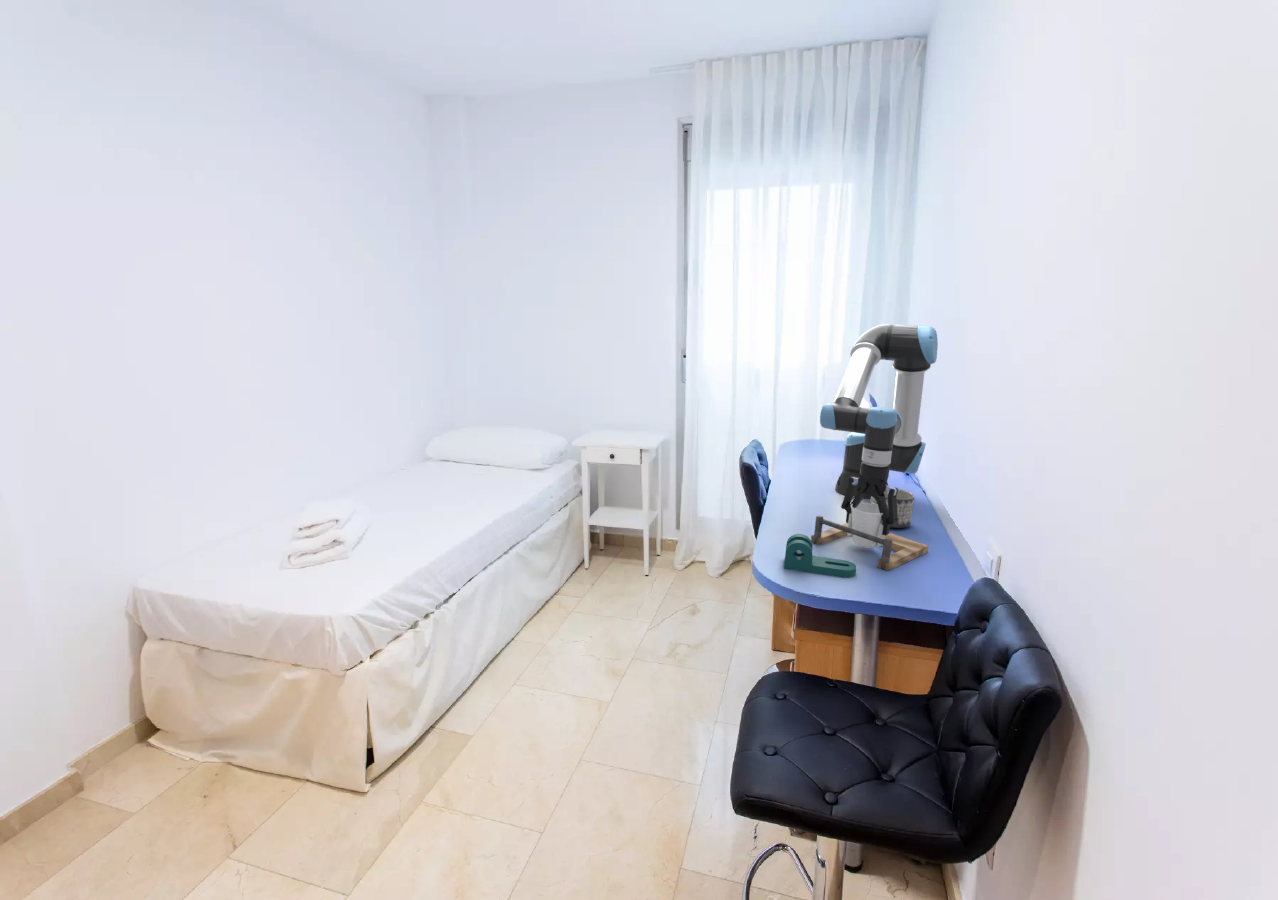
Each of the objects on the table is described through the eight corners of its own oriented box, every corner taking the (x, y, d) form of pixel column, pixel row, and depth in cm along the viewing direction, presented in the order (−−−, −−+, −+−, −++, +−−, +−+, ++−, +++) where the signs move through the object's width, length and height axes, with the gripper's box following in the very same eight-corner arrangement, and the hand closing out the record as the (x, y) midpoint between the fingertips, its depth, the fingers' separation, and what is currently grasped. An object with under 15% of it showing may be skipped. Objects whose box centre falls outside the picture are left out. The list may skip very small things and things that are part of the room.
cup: (838, 539, 175) (843, 503, 172) (864, 535, 179) (869, 500, 176) (863, 552, 166) (868, 515, 164) (890, 548, 170) (895, 511, 168)
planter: (864, 515, 202) (868, 485, 199) (905, 519, 199) (909, 489, 197) (871, 528, 190) (875, 496, 187) (913, 532, 187) (918, 501, 185)
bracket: (783, 569, 158) (786, 541, 156) (784, 559, 164) (787, 532, 162) (856, 580, 153) (860, 551, 151) (854, 569, 159) (858, 541, 157)
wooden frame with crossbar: (852, 526, 190) (855, 502, 188) (927, 552, 172) (931, 525, 170) (810, 541, 176) (813, 516, 175) (887, 571, 158) (891, 542, 157)
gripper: (833, 456, 173) (824, 530, 178) (906, 474, 157) (894, 555, 162) (848, 453, 177) (839, 525, 183) (920, 470, 161) (907, 549, 167)
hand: (865, 539), depth 172 cm, fingers open, 9 cm apart
